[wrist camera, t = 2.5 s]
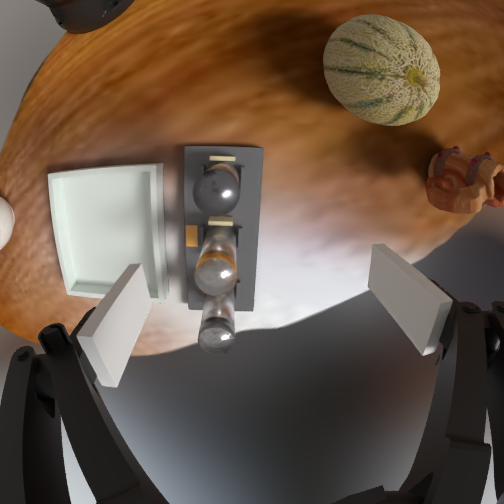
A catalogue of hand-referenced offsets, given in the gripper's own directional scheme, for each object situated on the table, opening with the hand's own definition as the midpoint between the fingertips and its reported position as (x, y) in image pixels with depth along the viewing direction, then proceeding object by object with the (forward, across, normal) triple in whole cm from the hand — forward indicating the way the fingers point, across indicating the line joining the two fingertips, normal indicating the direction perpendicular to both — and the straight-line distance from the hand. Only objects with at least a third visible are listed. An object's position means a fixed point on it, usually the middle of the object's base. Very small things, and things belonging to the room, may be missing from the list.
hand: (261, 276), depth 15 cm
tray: (+24, -21, -3) cm, 31 cm away
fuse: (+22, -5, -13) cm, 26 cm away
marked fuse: (+22, -4, -5) cm, 23 cm away
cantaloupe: (+24, +17, +17) cm, 34 cm away
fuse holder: (+24, -4, -5) cm, 24 cm away
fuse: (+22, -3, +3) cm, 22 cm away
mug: (+24, +30, +3) cm, 39 cm away
